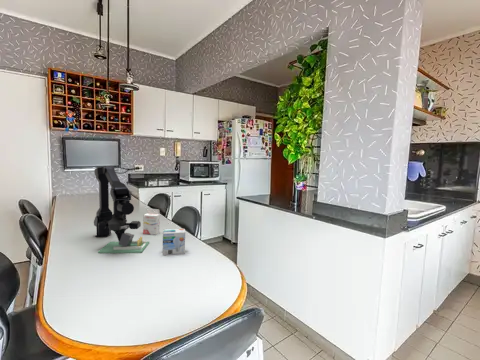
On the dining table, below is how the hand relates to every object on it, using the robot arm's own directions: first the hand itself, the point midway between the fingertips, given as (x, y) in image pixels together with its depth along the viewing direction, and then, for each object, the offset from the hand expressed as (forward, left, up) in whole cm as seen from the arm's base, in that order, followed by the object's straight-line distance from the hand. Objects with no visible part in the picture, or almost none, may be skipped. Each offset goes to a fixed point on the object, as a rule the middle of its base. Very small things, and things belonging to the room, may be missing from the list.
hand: (120, 241), depth 125 cm
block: (+3, -2, -1) cm, 3 cm away
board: (+3, 0, -3) cm, 4 cm away
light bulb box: (+28, -6, -4) cm, 28 cm away
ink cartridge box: (+10, +24, -4) cm, 26 cm away
